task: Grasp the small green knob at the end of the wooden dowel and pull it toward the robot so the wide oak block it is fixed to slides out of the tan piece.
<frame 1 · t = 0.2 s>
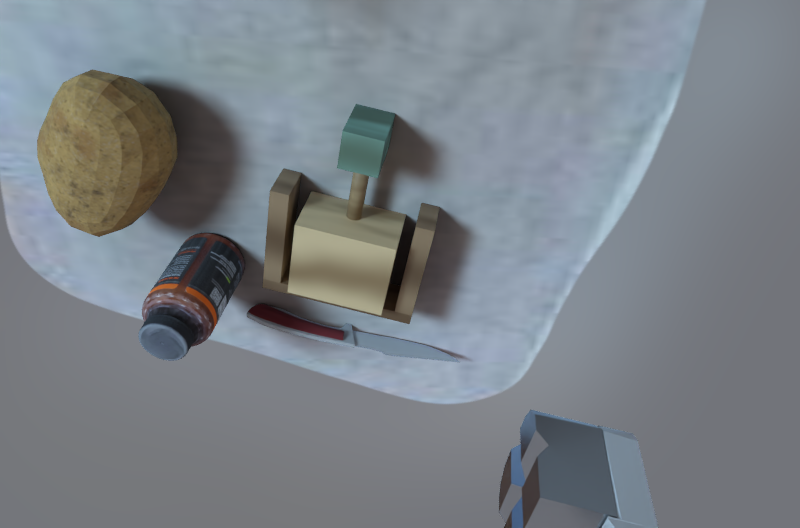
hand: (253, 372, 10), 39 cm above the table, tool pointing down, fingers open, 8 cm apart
tan piece: (353, 232, 56), on the table
supplement bottle: (216, 255, 60), on the table
knife: (357, 323, 63), on the table
potato: (134, 130, 54), on the table
oak block with dowel handle: (352, 236, 56), on the table
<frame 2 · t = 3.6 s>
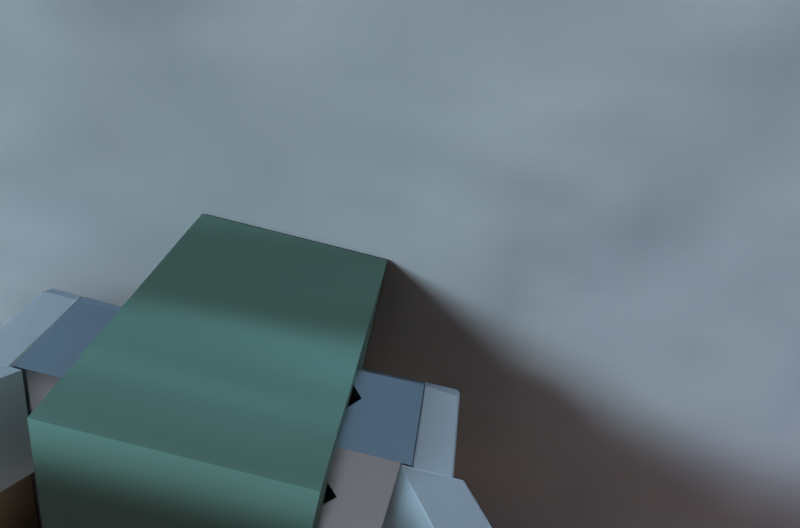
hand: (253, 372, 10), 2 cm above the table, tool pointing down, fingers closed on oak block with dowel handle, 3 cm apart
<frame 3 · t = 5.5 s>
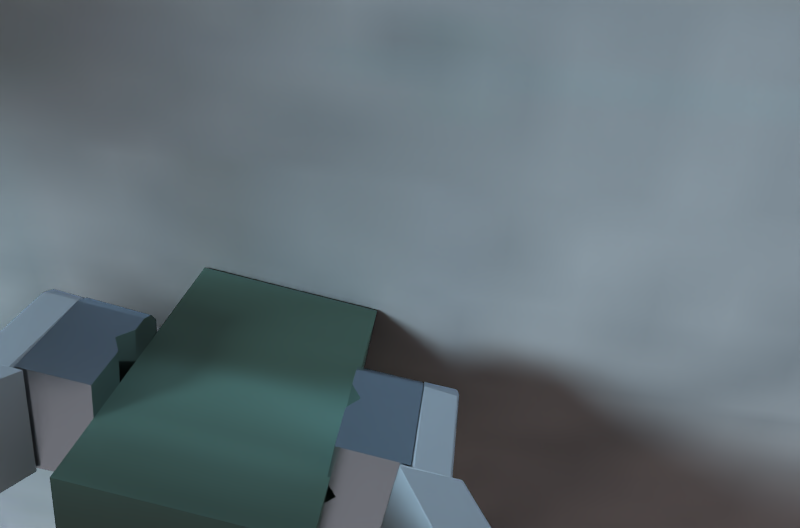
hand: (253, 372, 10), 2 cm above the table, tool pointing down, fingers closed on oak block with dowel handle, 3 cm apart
when the fingers open (2 cm above the table, at t = 6.9 s): oak block with dowel handle stays where it is, on the table.
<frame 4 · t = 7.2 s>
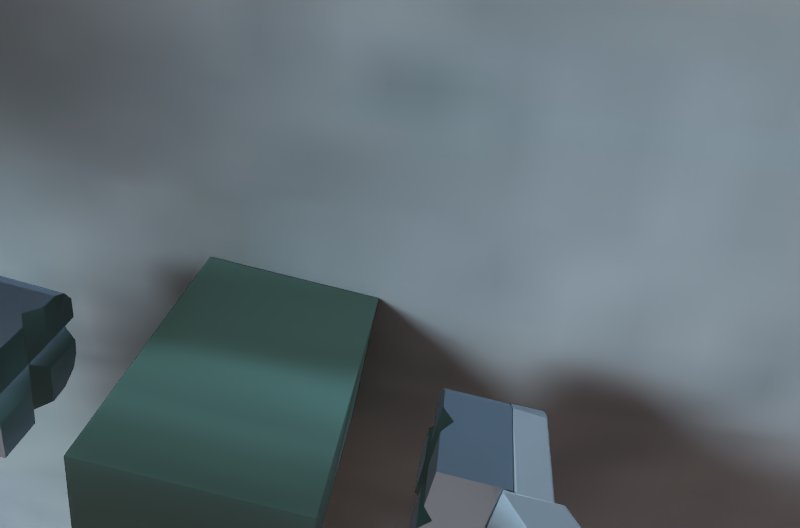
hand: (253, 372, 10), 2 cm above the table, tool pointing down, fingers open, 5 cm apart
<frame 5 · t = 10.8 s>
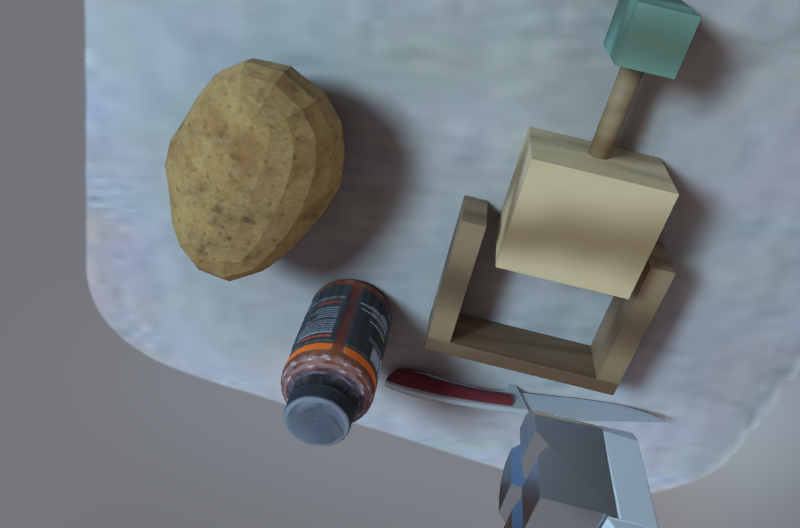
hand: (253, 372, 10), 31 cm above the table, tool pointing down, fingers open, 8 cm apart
tan piece: (541, 277, 44), on the table
supplement bottle: (353, 308, 48), on the table
knife: (522, 383, 50), on the table
potato: (274, 146, 42), on the table
oak block with dowel handle: (574, 193, 41), on the table
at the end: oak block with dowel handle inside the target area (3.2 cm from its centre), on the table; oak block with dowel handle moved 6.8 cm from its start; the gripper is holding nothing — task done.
